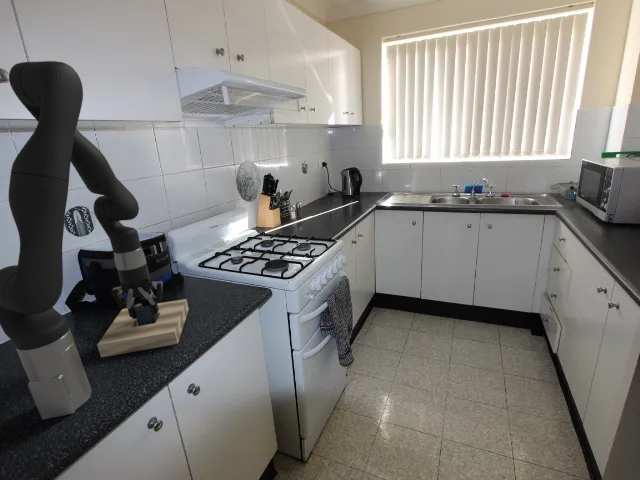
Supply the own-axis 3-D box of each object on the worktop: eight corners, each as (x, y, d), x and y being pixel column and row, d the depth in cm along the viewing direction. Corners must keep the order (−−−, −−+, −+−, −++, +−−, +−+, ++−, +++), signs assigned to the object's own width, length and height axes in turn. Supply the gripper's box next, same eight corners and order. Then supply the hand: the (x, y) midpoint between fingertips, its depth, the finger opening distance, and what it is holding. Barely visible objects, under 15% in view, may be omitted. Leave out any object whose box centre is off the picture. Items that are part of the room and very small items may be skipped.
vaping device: (154, 330, 102) (145, 294, 98) (137, 331, 102) (127, 295, 98) (158, 325, 104) (150, 290, 100) (142, 326, 104) (132, 291, 100)
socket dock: (177, 343, 96) (174, 331, 94) (101, 357, 92) (97, 345, 91) (188, 309, 114) (186, 299, 113) (125, 319, 111) (122, 309, 110)
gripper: (98, 272, 91) (115, 326, 97) (154, 265, 94) (167, 318, 99) (109, 263, 98) (123, 313, 104) (161, 256, 101) (172, 306, 106)
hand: (145, 315), depth 101 cm, fingers closed on vaping device, 5 cm apart
